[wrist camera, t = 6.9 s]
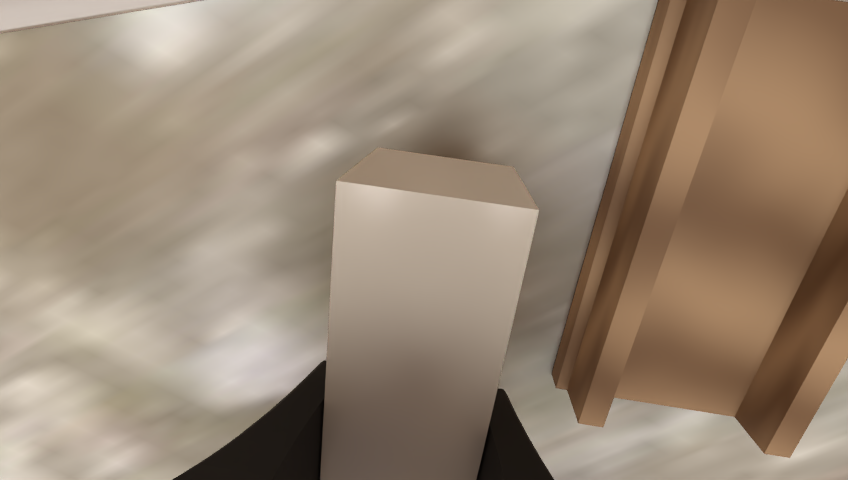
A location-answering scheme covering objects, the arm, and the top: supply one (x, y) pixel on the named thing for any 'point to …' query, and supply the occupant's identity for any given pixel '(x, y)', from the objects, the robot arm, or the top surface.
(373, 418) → the beige rectangular block
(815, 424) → the top surface
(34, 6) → the baseboard
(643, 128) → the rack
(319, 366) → the robot arm
